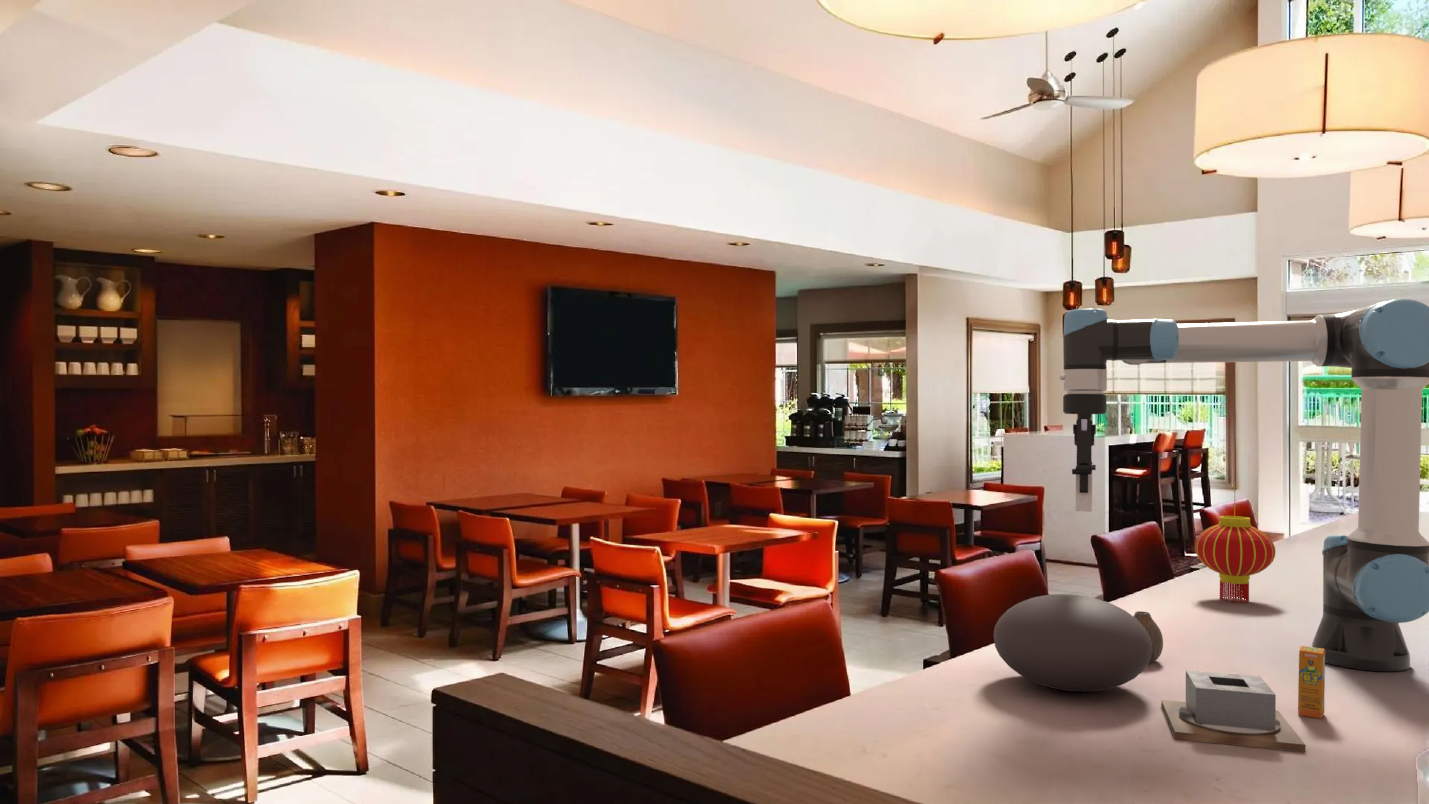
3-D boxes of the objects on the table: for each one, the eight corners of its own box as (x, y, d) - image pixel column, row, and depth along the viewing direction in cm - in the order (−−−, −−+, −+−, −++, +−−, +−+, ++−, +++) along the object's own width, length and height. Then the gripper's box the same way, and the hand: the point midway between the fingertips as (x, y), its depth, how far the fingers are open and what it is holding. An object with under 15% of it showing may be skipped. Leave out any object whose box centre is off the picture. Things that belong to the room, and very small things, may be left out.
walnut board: (1278, 717, 149) (1278, 710, 149) (1305, 752, 134) (1305, 744, 134) (1161, 706, 154) (1161, 700, 154) (1174, 739, 139) (1174, 731, 139)
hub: (1269, 712, 148) (1269, 674, 148) (1290, 740, 136) (1290, 698, 136) (1173, 703, 152) (1173, 666, 152) (1185, 729, 140) (1185, 689, 140)
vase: (1167, 666, 178) (1167, 617, 178) (1126, 664, 180) (1126, 615, 180) (1158, 657, 185) (1158, 609, 185) (1118, 654, 187) (1118, 607, 187)
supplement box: (1296, 715, 150) (1297, 648, 150) (1299, 710, 153) (1300, 644, 153) (1322, 720, 148) (1323, 652, 148) (1325, 714, 151) (1325, 648, 151)
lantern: (1184, 592, 251) (1185, 473, 252) (1258, 595, 249) (1258, 474, 249) (1208, 605, 234) (1209, 478, 235) (1287, 608, 232) (1288, 479, 232)
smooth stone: (1145, 675, 172) (1146, 588, 173) (1159, 716, 149) (1159, 616, 149) (997, 661, 180) (998, 579, 181) (987, 699, 157) (988, 604, 157)
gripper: (1065, 394, 198) (1064, 501, 198) (1060, 391, 175) (1060, 513, 174) (1105, 394, 195) (1105, 502, 195) (1107, 391, 172) (1106, 515, 172)
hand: (1084, 508), depth 185 cm, fingers open, 13 cm apart
